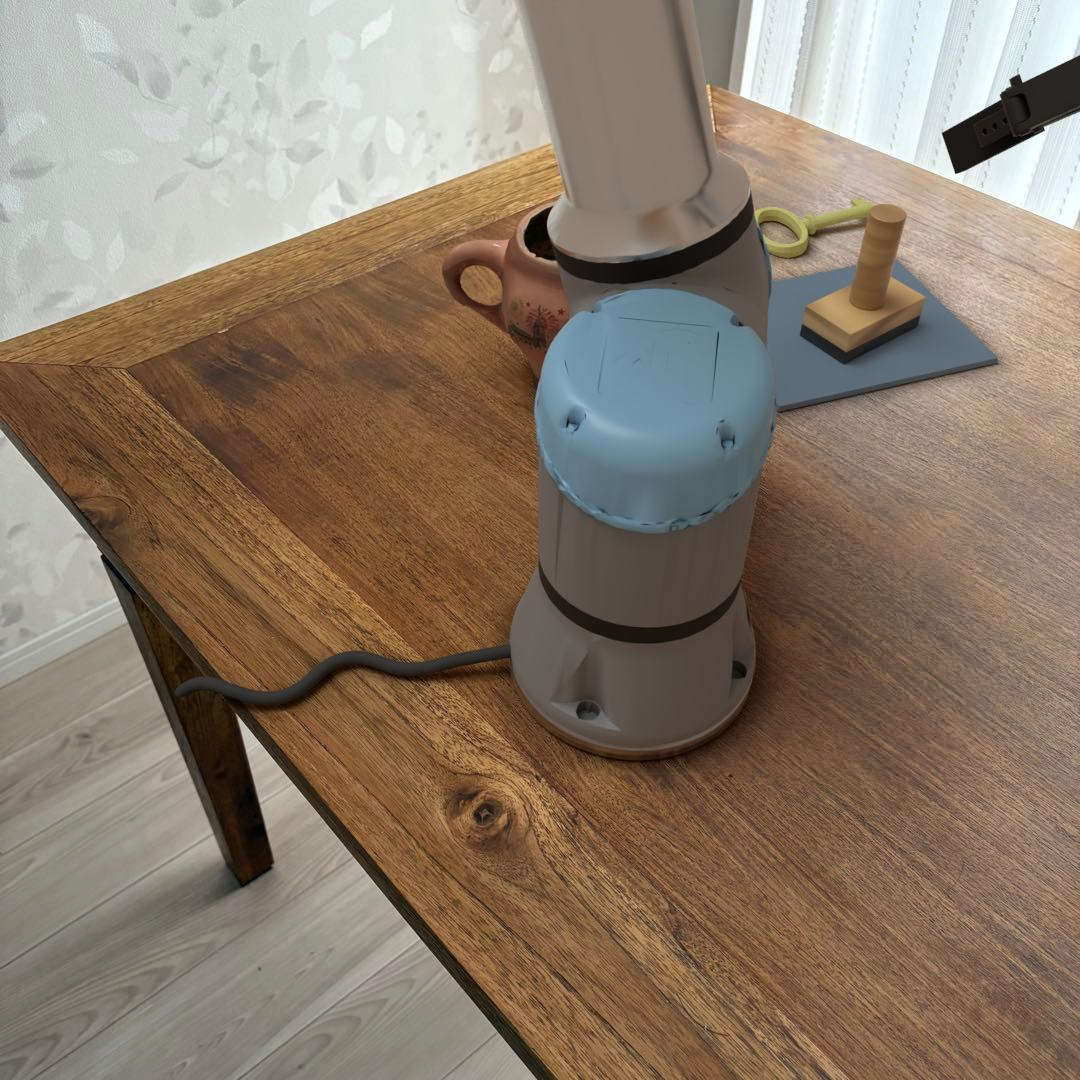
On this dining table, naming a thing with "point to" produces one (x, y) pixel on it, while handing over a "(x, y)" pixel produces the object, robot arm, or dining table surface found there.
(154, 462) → the dining table surface
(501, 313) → the decorative planter
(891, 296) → the scrub brush
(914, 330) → the scrub mat
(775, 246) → the key
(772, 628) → the dining table surface
